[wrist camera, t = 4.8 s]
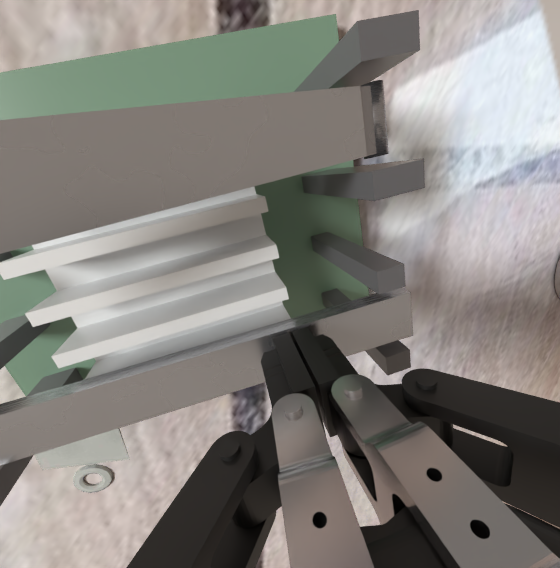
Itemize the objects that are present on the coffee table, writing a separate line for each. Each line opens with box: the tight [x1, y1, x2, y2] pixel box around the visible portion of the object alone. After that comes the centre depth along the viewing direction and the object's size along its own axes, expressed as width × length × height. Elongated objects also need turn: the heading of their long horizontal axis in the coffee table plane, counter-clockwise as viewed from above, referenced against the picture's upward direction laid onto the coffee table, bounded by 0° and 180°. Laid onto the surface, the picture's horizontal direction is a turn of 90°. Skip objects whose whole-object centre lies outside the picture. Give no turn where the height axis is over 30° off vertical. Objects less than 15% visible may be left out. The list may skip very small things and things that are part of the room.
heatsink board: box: [0, 10, 425, 506], centre depth 14 cm, size 24×20×10 cm
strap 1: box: [0, 80, 388, 254], centre depth 6 cm, size 20×2×1 cm, turn 102°
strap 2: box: [0, 288, 413, 465], centre depth 12 cm, size 20×2×1 cm, turn 102°
